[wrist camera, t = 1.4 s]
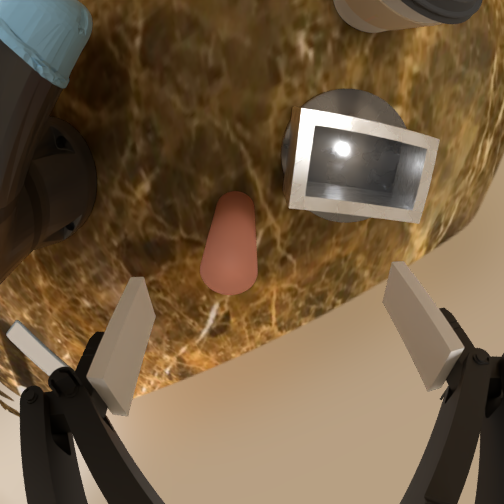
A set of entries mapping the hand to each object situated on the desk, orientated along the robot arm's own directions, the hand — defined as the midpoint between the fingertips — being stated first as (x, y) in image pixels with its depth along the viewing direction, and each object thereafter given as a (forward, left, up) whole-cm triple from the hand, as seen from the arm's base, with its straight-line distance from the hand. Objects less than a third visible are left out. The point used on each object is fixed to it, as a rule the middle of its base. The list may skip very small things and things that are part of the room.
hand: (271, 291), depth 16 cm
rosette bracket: (+9, +5, -17) cm, 20 cm away
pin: (-2, -2, -17) cm, 18 cm away
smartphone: (-38, -32, -18) cm, 53 cm away
